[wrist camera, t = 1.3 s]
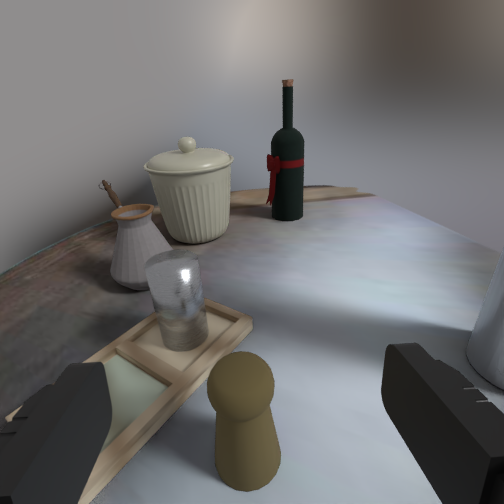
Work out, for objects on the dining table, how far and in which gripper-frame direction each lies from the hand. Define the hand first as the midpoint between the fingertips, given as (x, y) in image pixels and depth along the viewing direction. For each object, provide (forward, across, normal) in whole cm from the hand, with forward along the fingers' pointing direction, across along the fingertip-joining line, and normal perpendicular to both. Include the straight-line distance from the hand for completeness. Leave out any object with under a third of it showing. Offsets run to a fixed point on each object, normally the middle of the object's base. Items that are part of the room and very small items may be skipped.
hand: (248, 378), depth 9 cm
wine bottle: (+70, -13, +9) cm, 71 cm away
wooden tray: (+25, +11, +18) cm, 33 cm away
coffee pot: (+50, +18, +14) cm, 55 cm away
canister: (+63, +8, +11) cm, 65 cm away
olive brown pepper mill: (+15, 0, +20) cm, 25 cm away
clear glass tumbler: (+29, +7, +16) cm, 34 cm away
